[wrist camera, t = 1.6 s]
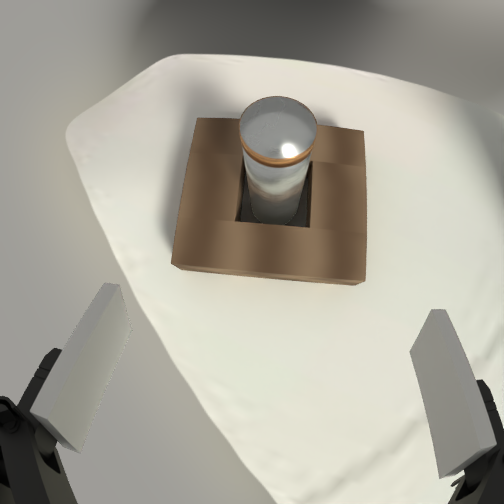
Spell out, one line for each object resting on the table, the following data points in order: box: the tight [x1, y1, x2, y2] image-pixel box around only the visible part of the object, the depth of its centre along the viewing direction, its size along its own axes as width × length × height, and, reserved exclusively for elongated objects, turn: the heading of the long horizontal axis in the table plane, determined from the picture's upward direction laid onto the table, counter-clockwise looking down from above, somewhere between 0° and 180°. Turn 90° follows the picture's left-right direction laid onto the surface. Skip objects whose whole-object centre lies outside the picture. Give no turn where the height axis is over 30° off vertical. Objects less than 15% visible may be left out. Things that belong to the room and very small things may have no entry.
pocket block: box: [171, 118, 367, 285], centre depth 32 cm, size 18×16×4 cm
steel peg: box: [239, 96, 317, 225], centre depth 27 cm, size 5×5×15 cm
